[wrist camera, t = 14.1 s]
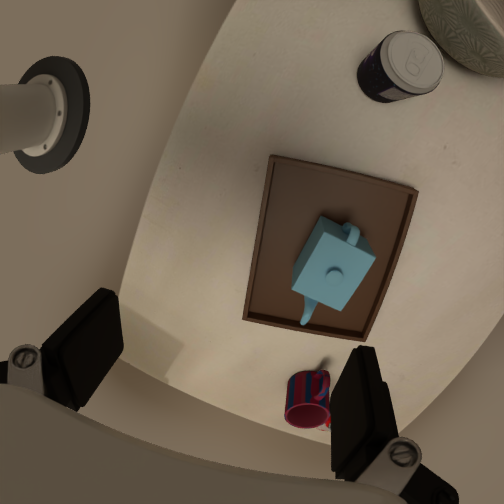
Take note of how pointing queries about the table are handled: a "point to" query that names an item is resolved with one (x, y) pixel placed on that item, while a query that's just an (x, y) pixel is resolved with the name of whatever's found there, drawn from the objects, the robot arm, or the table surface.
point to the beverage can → (401, 67)
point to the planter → (469, 32)
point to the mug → (308, 399)
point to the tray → (299, 230)
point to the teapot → (331, 265)
